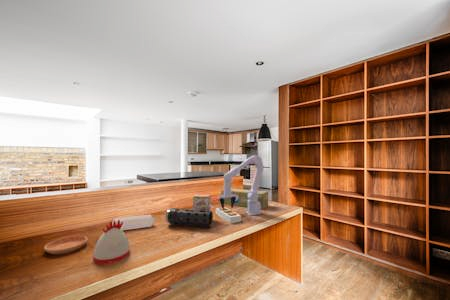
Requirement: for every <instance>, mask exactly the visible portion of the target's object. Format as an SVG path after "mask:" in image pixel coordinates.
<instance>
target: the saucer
mask: <svg viewBox="0 0 450 300" xmlns="http://www.w3.org/2000/svg"><path fill="white" fill-rule="evenodd" d="M88 240H89V239H88V237H87V236H85V235H71V236H66V237H62V238H57V239H55V240H52V241H50V242H48V243H46V244H45V245H44V251H45V252H46V253H48V254H50V255H54V256H55V255H64V254H68V253H73V252H74V251H77V250H79V249H80V248H83V247H84V245H85V244H86V243H88Z"/></svg>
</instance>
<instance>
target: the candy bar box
mask: <svg viewBox="0 0 450 300" xmlns="http://www.w3.org/2000/svg"><path fill="white" fill-rule="evenodd" d="M192 199H193V202H192V203H193V205H192V206H193V209H192V210H201V211H211V195H209V194H208V195H207V194H194V195H193V198H192Z"/></svg>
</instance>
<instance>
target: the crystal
mask: <svg viewBox="0 0 450 300" xmlns="http://www.w3.org/2000/svg"><path fill="white" fill-rule="evenodd" d="M114 220H115V222H116V225H117V223H118V220H120V224H121V222H123V224H122V226H121V228H120V230H122V231H127V230H135V229H143V228H151V227H152V226H153V225H154V224H155V220H154V218H153V216H152V214H150V213H149V214H142V215H133V216H132V215H131V216H122V217H115V218H114V219H113V221H111V222H112V225H113V223H114Z"/></svg>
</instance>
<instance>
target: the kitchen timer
mask: <svg viewBox="0 0 450 300" xmlns="http://www.w3.org/2000/svg"><path fill="white" fill-rule="evenodd" d="M113 221H114V223H113V225H112V222H113ZM113 221H110V222H109V225H108V224H106V225H105V227H106V229H104V228H103V227H102V231H103V233H102V234H101V235H100V237H99V238H98V240H97V242H96V244H95V247H94V250H93V256H92V257H93V259H92V261H93V262H94V263H95V264H99V265H104V264H111V263H115V262H119V261H121V260H122V259H125V258H126V257H127V256H128V255H129V254H130V252H131V247H130V243H129V239H128V237H127V234H126V233H125V232H124V230H120V228H121V226H122V224H123V222H121V224H120V220H118V223H117V225H116V222H115V220H114V219H113Z"/></svg>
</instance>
